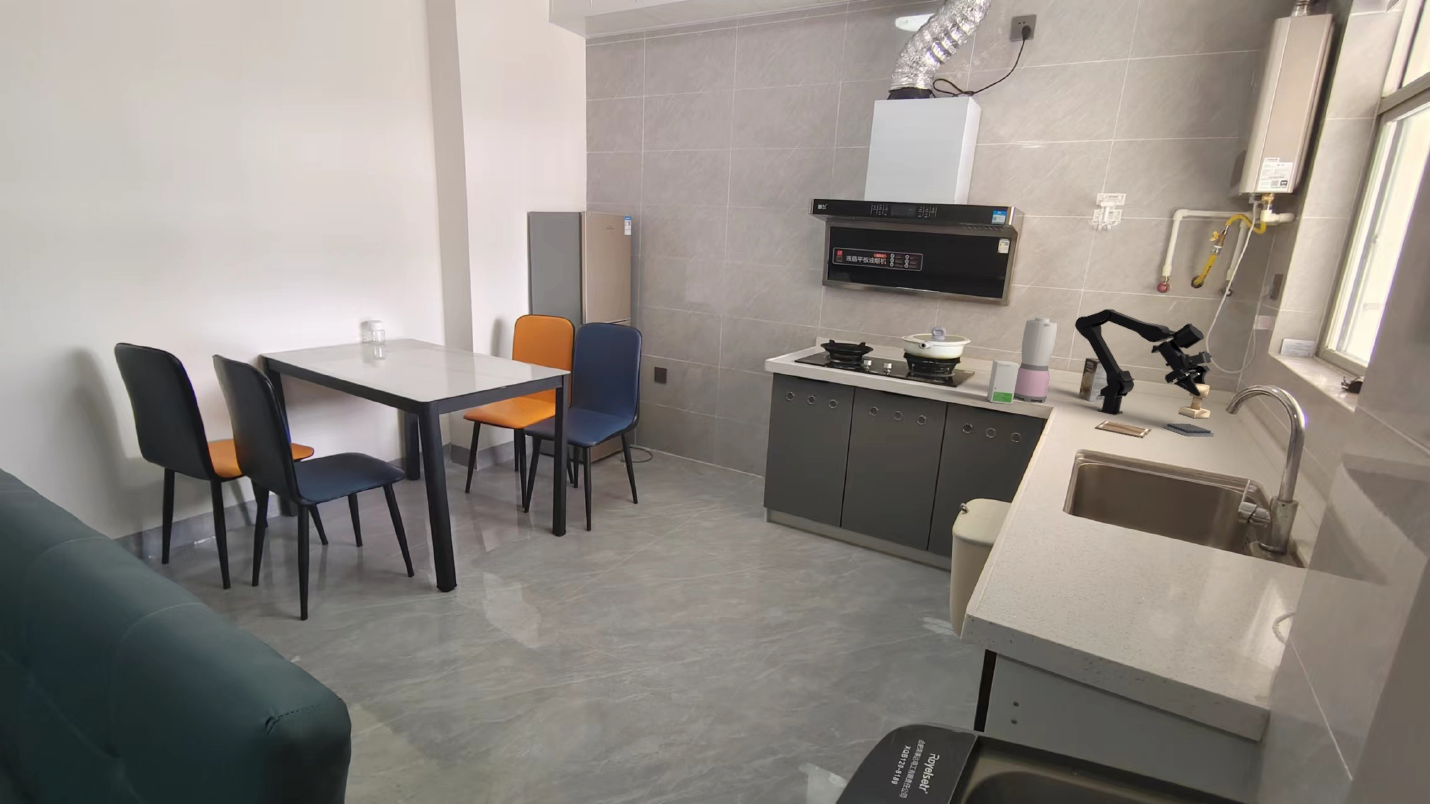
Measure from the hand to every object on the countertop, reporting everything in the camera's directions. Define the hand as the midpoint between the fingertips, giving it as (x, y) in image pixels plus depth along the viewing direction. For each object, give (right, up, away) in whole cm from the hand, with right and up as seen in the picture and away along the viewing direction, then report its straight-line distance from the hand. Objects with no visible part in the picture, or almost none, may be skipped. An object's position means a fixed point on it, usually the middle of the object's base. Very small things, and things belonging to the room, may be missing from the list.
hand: (1203, 395), depth 223 cm
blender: (-39, -1, +43) cm, 58 cm away
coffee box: (-11, -1, +47) cm, 49 cm away
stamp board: (-25, -11, +2) cm, 28 cm away
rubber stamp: (-1, -7, +3) cm, 8 cm away
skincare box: (-54, -2, +34) cm, 63 cm away
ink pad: (-3, -12, +3) cm, 13 cm away
